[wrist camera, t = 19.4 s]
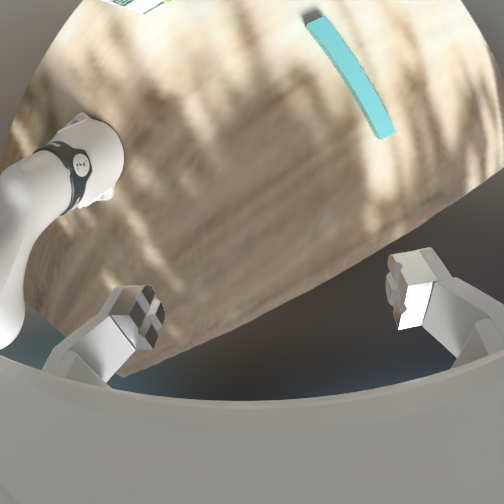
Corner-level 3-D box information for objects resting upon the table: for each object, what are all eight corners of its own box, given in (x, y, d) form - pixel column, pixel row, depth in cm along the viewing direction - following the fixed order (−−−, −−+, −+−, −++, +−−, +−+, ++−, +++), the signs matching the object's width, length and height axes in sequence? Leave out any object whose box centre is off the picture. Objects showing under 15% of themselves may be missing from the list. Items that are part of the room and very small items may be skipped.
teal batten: (388, 128, 37) (395, 131, 35) (374, 135, 39) (380, 139, 36) (321, 20, 29) (324, 15, 26) (305, 27, 30) (307, 23, 27)
